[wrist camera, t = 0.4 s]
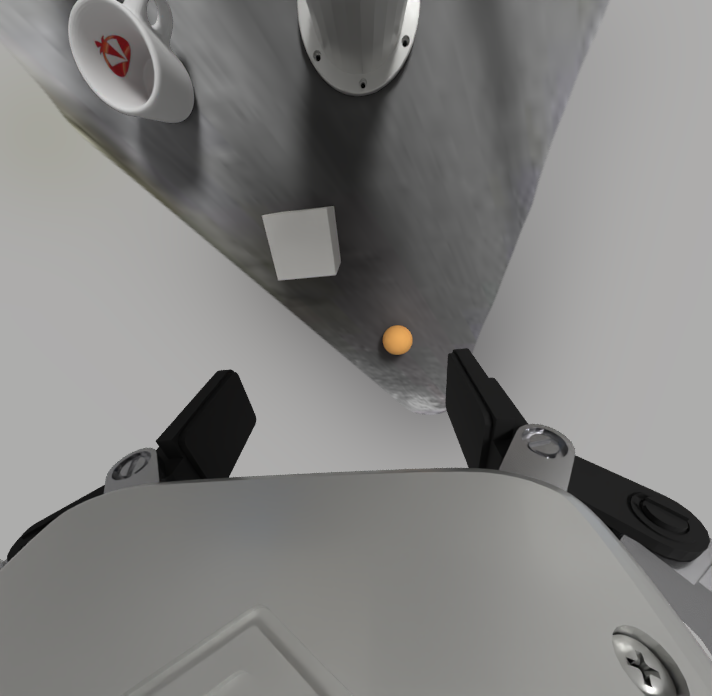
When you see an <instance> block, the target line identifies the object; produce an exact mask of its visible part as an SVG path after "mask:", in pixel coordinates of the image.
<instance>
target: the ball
mask: <svg viewBox="0 0 712 696" xmlns="http://www.w3.org/2000/svg"><path fill="white" fill-rule="evenodd" d="M383 345H384V347H385V349H386V350H387V351H388V352H389V353H391V354H394V355H400V354H404V353H405V352H407V351H408V350H409V349H410V347H411V345H412V335H411V333H410V331H409V330H408V329H407V328H405V327H403V326H400V325H396V326H392V327H390V328H388V329H387V330H386V331H385V333H384V335H383Z"/></svg>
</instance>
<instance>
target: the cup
mask: <svg viewBox="0 0 712 696" xmlns="http://www.w3.org/2000/svg"><path fill="white" fill-rule="evenodd" d="M148 1H149V0H125V1H124V3H122V4H121V3H120V2H118V1H116V0H78V1H77V2H76V3H75V4H74V6H73V8H72V10H71V13H70V16H69V22H68V35H69V42H70V47H71V51H72V54H73V57H74V60H75V62H76V64H77V67H78V69H79V71H80V72H81V74H82V76H83V78H84V79H85V81H86V82H87V84H88V85H89V87H90V88H91V89H92V90H93V91H94V93H95V94H96V95H97V96H98V97H99V98H100V99H101V100H102V101H103V102H105V103H106V104H107V105H108V106H110V107H111V108H113V109H115V110H116V111H118V112H121V113H123V114H126V115H130V116H135V117H140V118H145V119H151V120H156V121H161V122H167V123H178V122H181V121H183V120H185V119H186V118H187V117H188V116H189V115H190V113H191V111H192V109H193V105H194V90H193V86H192V82H191V79H190V77H189V75H188V72H187V71H186V69H185V67H184V66H183V64H182V63H181V61H180V60H179V59H178V57H177V56H176V55H175V54H174V53H173V51H172V49H171V47H170V39H171V34H172V28H173V17H172V12H171V9H170V7H169V4H168V3H167V1H166V0H154V1H155V3H156V6H157V9H158V18H157V22H156V23H155V24H154V25H153V26H151V24H150V23H149V20H148V17H147V3H148Z"/></svg>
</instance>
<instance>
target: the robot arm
mask: <svg viewBox="0 0 712 696" xmlns="http://www.w3.org/2000/svg"><path fill="white" fill-rule="evenodd" d="M297 11H298V22H299V27H300V32H301V36H302V40H303V43H304V46H305V48H306V51H307V54H308V56H309V58H310V60H311V63H312V64H313V66H314V67H315V69H316V71H317V72H318V74H319V75H320V76H321V77H322V78H323V79H324V80H325V82H326V83H327V84H329V85H330V86H331V87H333V88H334V89H335V90H337V91H339V92H341V93H344V94H346V95H352V96H365V95H369V94H372V93H375V92H377V91H379V90H380V89H382V88H383V87H385V86H386V85H387V84H388V83H389V82H390V81H392V80H393V79H394V78H395V76H396V75H397V74H398V72H399V71H400V70H401V68H402V67H403V65H404V63H405V61H406V59H407V57H408V55H409V53H410V50H411V48H412V45H413V42H414V39H415V35H416V31H417V27H418V22H419V14H420V0H297ZM404 42H405V43H406V44H407V46H406V47H403V45H402V44H403V43H404ZM317 57H320V61H316V58H317ZM362 84H365V88H364V89H362V88H361V85H362ZM446 409H447V412H448V415H449V418H450V420H451V423H452V425H453V428H454V431H455V433H456V436H457V438H458V441H459V444H460V446H461V449H462V452H463V454H464V457H465V459H466V462H467V465H468V467H469V468H434V469H401V470H400V469H399V470H378V471H355V472H331V473H312V474H291V475H273V476H272V475H271V476H252V477H233V478H229V475H230V474H231V472H232V470H233V468H234V466H235V464H236V462H237V460H238V457H239V456H240V454H241V452H242V450H243V448H244V446H245V444H246V442H247V439H248V438H249V435H250V434H251V432H252V429H253V428H254V426H255V423H256V416H255V413H254V411H253V408H252V406H251V404H250V401H249V399H248V397H247V394H246V392H245V390H244V387H243V385H242V383H241V380H240V378H239V375H238V374H237V373H236V372H234V371H233V370H221V371H217V372H216V373H215V374H214V376H213V377H212V378H211V379H210V380H209V381H208V382H207V383H206V385H205V386H204V387H203V388H202V389H201V390H200V391H199V393H198V394H197V395H196V396H195V397H194V398H193V399H192V400H191V402H190V403H189V404H188V405H187V406H186V407H185V408H184V410H183V411H182V412H181V413H180V414H179V415H178V416H177V418H176V419H175V420H174V421H173V422H172V423H171V424H170V426H169V427H168V428H167V429H166V430H165V431H164V432H163V433H162V435H161V436H160V437H159V438H158V439H157V440H156V442H157V444H158V445H159V448H158V449H157V450H155V449H153V448H143V449H139V450H137V451H135V452H132V453H130V454H128V455H127V456H125V457H124V458H122V459H121V460H120V461H118V462H117V463H116V464H115V465H114V466H113V467H112V468H111V469H110V471H109V472H108V474H107V476H106V481H105V485H104V486H102V487H100V488H98V489H96V490H95V491H93V492H91V493H89V494H87V495H86V496H84V497H82V498H80V499H79V500H77V501H75V502H73V503H71V504H70V505H68V506H66V507H64V508H62V509H61V510H59V511H57V512H55V513H54V514H52V515H50V516H48V517H46V518H45V519H43V520H41V521H39V522H37V523H36V524H34V525H33V526H31V527H30V528H29V529H28V530H27V531H26V532H25V533H23V535H22V536H21V537H20V538H19V539H18V540H17V541H16V543H15V544H14V545H13V546H12V548H11V549H10V551H9V553H8V555H7V559H6V560H5V561H3V560H1V559H0V696H712V661H711V659H710V658H709V657H708V655H707V654H706V653H705V651H704V650H703V649H702V647H701V646H700V644H699V643H698V642H697V641H696V639H695V638H694V636H693V635H692V634H691V632H690V631H689V629H688V628H687V627H686V626H685V624H684V623H686V624H687V625H688V626H689V627H690V628H691V629H692V630H693V631H694V632H695V633H696V634H697V635H698V636H699V637H700V639H701V640H702V641H703V642H704V644H705V646H706V647H707V648H708V650H709V651H710V653H711V654H712V539H711V538H709V536H708V532H707V530H706V529H705V527H704V526H703V525H702V523H701V522H700V521H699V520H698V519H697V518H696V517H695V516H694V515H693V514H692V513H691V512H690V511H688V510H687V509H686V508H684V507H683V506H682V505H680V504H679V503H677V502H675V501H674V500H672V499H670V498H668V497H666V496H664V495H662V494H660V493H657V492H655V491H653V490H651V489H649V488H646V487H644V486H642V485H640V484H638V483H635V482H633V481H631V480H629V479H627V478H624V477H622V476H620V475H618V474H615V473H613V472H611V471H609V470H607V469H604V468H602V467H600V466H598V465H595V464H593V463H591V462H589V461H586V460H584V459H582V458H580V457H578V456H575V448H574V446H573V444H572V442H571V441H570V440H569V439H568V438H567V437H566V436H565V435H563V434H562V433H560V432H559V431H556V430H555V429H553V428H550V427H547V426H544V425H539V424H528V423H527V422H526V420H525V419H524V418H523V416H522V415H521V414H520V412H519V411H518V409H517V408H516V407H515V405H514V404H513V402H512V401H511V400H510V398H509V397H508V396H507V394H506V393H505V391H504V390H503V389H502V387H501V386H500V385H499V383H498V382H497V381H496V379H495V378H488V376H487V375H486V373H485V372H484V370H483V369H482V368H481V366H480V365H479V363H478V362H477V360H476V359H475V357H474V356H473V355H472V353H471V352H470V350H469V349H455V350H453V352H452V353H449V354H448V366H447V385H446ZM682 621H683V622H684V623H683V622H682ZM612 635H614V636H612Z"/></svg>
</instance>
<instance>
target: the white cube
mask: <svg viewBox="0 0 712 696" xmlns="http://www.w3.org/2000/svg"><path fill="white" fill-rule="evenodd" d="M262 218H263V222H264V226H265V230H266V234H267V238H268V242H269V246H270V250H271V254H272V258H273V262H274V266H275V270H276V274H277V278H278V281H279V280H289V279H300V278H310V277H321V276H332V275H336V274H337V271H338V269H339V266H340V264H341V257H340V250H339V242H338V234H337V226H336V218H335V210H334V206H329V207H320V208H311V209H303V210H294V211H285V212H278V213H272V214H267V215H262Z"/></svg>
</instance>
